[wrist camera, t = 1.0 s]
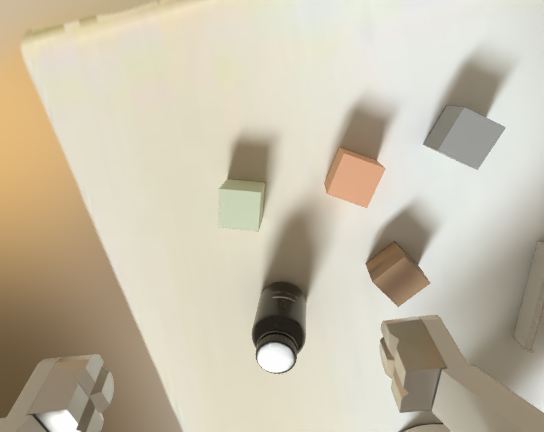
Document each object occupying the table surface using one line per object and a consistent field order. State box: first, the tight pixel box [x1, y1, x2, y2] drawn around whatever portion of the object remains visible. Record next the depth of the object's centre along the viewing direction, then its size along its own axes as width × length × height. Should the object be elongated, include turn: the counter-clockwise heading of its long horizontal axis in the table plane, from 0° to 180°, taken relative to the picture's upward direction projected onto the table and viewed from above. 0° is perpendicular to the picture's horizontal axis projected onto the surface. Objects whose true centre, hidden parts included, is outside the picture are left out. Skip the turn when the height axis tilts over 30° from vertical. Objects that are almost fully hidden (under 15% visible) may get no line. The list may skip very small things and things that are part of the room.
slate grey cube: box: [423, 106, 506, 170], centre depth 40 cm, size 5×5×5 cm
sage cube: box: [218, 179, 265, 231], centre depth 45 cm, size 5×5×5 cm
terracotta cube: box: [324, 147, 385, 208], centre depth 43 cm, size 5×5×5 cm
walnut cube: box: [366, 241, 430, 307], centre depth 46 cm, size 5×5×5 cm
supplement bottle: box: [252, 282, 306, 374], centre depth 46 cm, size 7×7×12 cm
